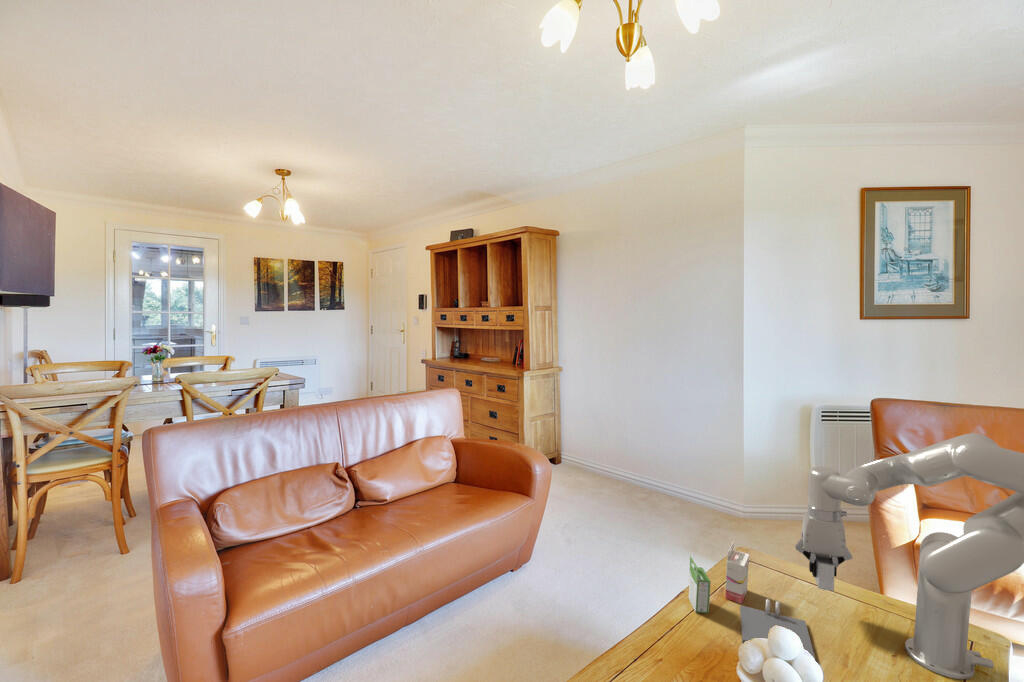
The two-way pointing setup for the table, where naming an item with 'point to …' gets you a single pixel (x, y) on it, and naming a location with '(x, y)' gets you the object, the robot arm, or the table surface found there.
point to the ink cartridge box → (736, 575)
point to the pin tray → (771, 624)
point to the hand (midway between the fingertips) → (822, 575)
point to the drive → (824, 572)
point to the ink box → (699, 588)
